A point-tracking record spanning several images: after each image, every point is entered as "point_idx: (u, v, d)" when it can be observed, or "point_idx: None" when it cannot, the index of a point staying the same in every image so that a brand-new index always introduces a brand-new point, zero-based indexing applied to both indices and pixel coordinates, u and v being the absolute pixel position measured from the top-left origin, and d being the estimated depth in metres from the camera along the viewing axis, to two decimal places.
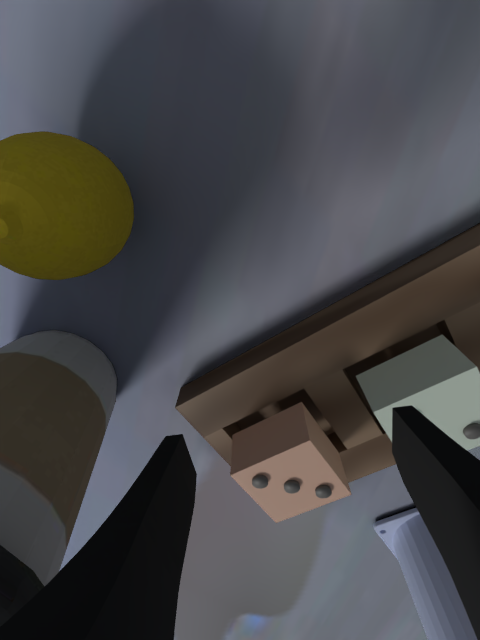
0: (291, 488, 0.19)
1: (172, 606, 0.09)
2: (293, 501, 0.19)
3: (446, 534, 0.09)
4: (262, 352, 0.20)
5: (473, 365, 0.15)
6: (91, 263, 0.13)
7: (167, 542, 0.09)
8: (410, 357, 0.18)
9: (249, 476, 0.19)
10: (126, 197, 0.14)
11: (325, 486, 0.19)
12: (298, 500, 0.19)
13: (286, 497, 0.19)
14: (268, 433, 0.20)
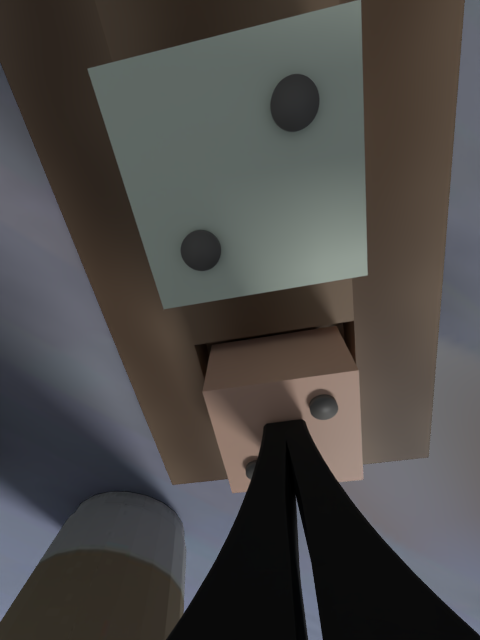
0: None
1: (302, 597, 0.09)
2: (326, 447, 0.12)
3: None
4: None
5: (92, 74, 0.06)
6: None
7: (292, 531, 0.09)
8: None
9: (244, 476, 0.13)
10: None
11: (313, 401, 0.11)
12: (328, 440, 0.12)
13: None
14: None
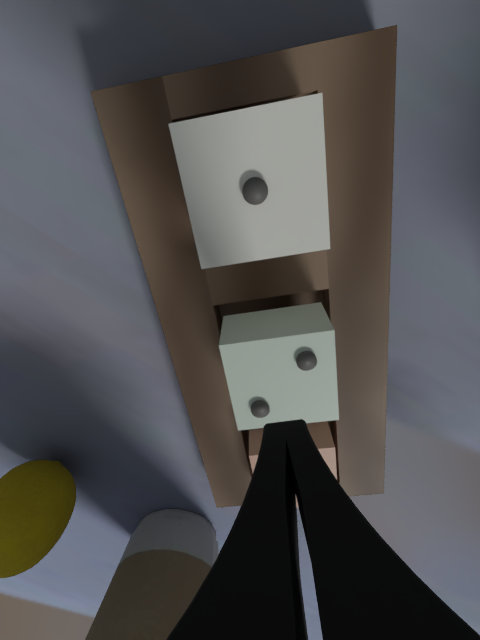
0: None
1: (301, 597, 0.09)
2: None
3: None
4: None
5: (219, 345, 0.15)
6: (42, 532, 0.20)
7: (292, 531, 0.09)
8: None
9: None
10: (28, 482, 0.21)
11: None
12: None
13: None
14: None
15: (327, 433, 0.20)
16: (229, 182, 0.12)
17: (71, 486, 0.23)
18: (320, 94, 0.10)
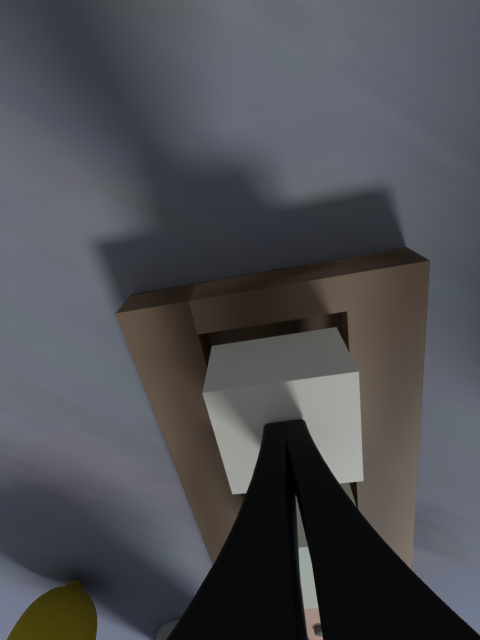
0: None
1: (302, 597, 0.09)
2: None
3: None
4: None
5: None
6: None
7: (292, 531, 0.09)
8: None
9: None
10: (50, 626, 0.21)
11: None
12: None
13: None
14: None
15: None
16: (262, 434, 0.12)
17: (92, 618, 0.23)
18: (356, 372, 0.10)
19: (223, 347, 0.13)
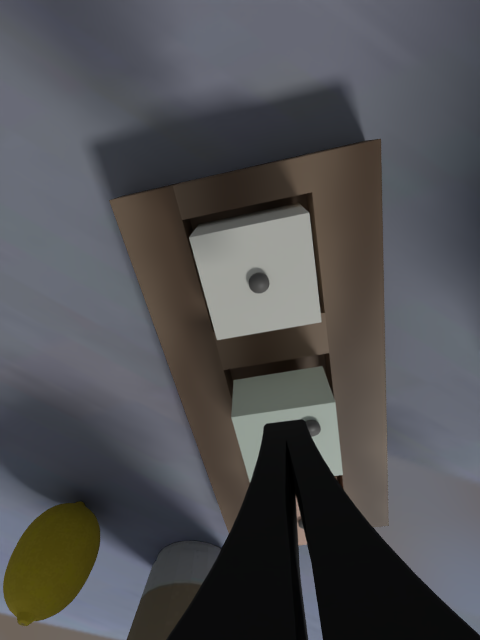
0: None
1: (302, 597, 0.09)
2: None
3: None
4: None
5: (231, 416, 0.16)
6: (73, 576, 0.22)
7: (292, 530, 0.09)
8: None
9: None
10: (57, 528, 0.23)
11: None
12: None
13: None
14: None
15: None
16: (237, 277, 0.15)
17: (96, 528, 0.25)
18: (307, 213, 0.13)
19: (207, 223, 0.16)
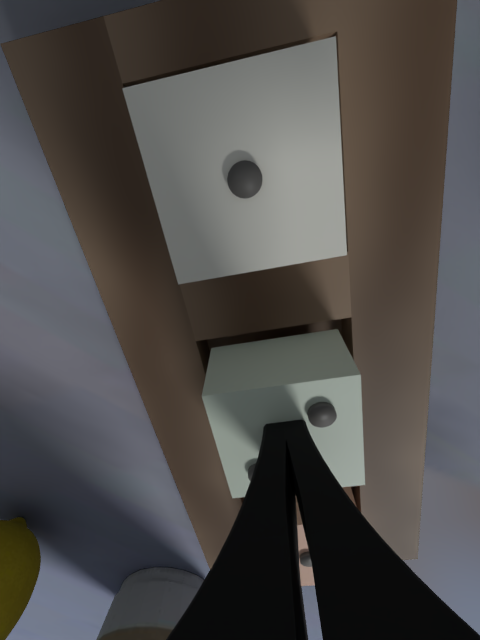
0: (309, 561, 0.16)
1: (302, 597, 0.09)
2: None
3: None
4: None
5: (202, 394, 0.11)
6: None
7: (293, 531, 0.09)
8: None
9: None
10: None
11: None
12: None
13: None
14: None
15: (349, 497, 0.16)
16: (209, 169, 0.09)
17: (32, 555, 0.19)
18: (333, 39, 0.07)
19: None
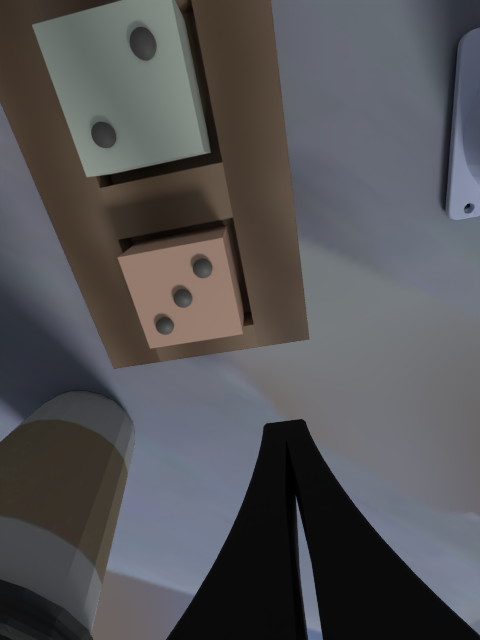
0: (182, 300, 0.16)
1: (302, 597, 0.09)
2: (211, 305, 0.16)
3: None
4: None
5: (35, 28, 0.12)
6: None
7: (293, 531, 0.09)
8: None
9: (156, 332, 0.17)
10: None
11: (194, 263, 0.15)
12: (212, 299, 0.16)
13: (202, 309, 0.17)
14: None
15: (219, 233, 0.16)
16: None
17: None
18: None
19: None
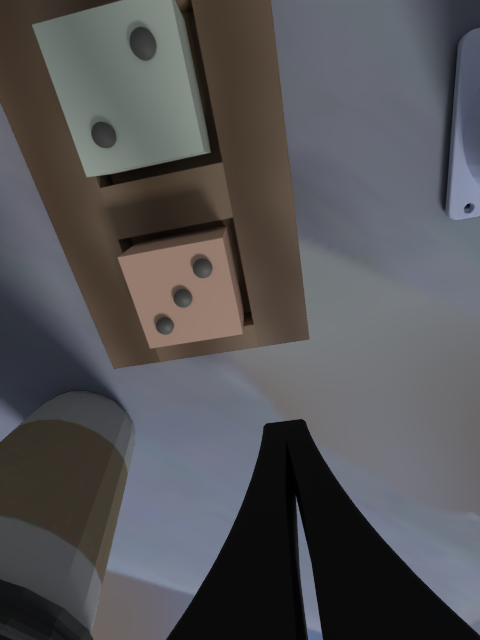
0: (182, 300, 0.16)
1: (302, 597, 0.09)
2: (211, 305, 0.16)
3: None
4: None
5: (35, 28, 0.12)
6: None
7: (292, 531, 0.09)
8: None
9: (156, 332, 0.17)
10: None
11: (194, 263, 0.15)
12: (212, 299, 0.16)
13: (202, 309, 0.17)
14: None
15: (219, 233, 0.16)
16: None
17: None
18: None
19: None
